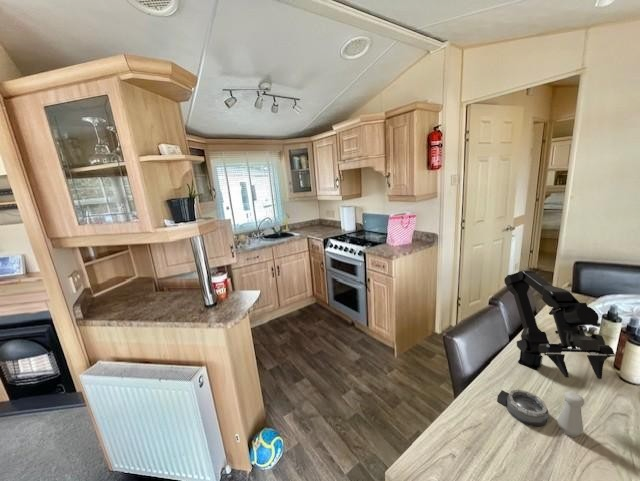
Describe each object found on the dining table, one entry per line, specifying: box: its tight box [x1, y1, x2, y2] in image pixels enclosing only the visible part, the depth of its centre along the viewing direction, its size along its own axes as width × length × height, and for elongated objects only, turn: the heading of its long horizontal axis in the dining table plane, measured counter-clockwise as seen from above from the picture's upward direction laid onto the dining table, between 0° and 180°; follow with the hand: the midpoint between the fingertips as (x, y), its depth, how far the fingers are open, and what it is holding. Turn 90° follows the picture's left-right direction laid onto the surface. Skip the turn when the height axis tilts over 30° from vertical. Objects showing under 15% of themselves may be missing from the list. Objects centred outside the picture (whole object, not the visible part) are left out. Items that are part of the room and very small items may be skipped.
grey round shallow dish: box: [496, 389, 549, 428], centre depth 90 cm, size 13×11×4 cm
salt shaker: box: [556, 391, 585, 438], centre depth 81 cm, size 6×6×13 cm
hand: (583, 378), depth 85 cm, fingers open, 9 cm apart
